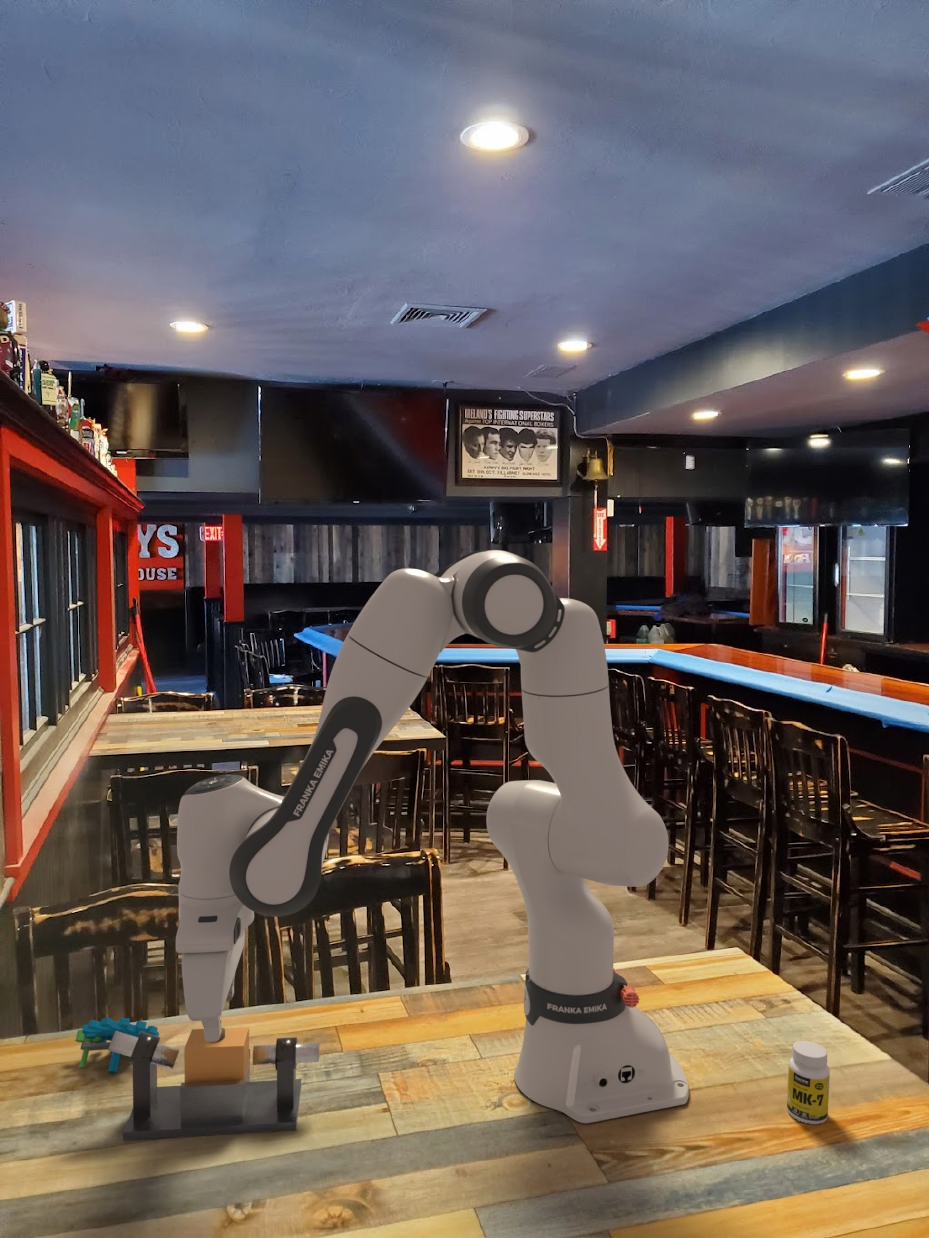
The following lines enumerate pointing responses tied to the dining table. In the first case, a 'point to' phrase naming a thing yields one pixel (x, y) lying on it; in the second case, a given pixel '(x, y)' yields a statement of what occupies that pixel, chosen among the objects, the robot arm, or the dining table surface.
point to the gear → (108, 1036)
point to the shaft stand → (211, 1092)
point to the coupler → (217, 1056)
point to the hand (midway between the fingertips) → (219, 1017)
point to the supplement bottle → (808, 1083)
